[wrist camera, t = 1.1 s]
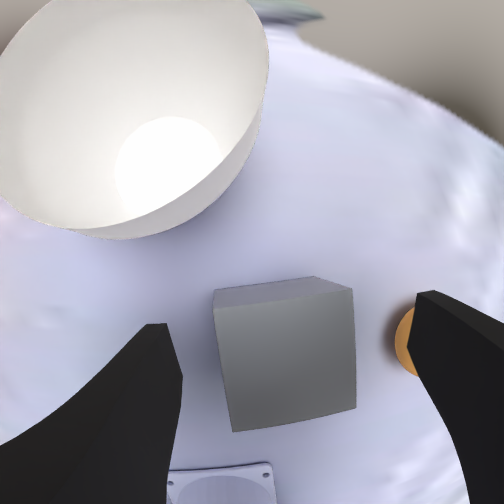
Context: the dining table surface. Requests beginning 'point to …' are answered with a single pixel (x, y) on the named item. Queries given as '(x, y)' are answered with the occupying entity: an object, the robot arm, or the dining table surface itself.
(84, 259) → the dining table surface
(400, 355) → the ball
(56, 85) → the cup
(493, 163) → the dining table surface
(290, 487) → the dining table surface
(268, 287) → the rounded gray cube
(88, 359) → the dining table surface
